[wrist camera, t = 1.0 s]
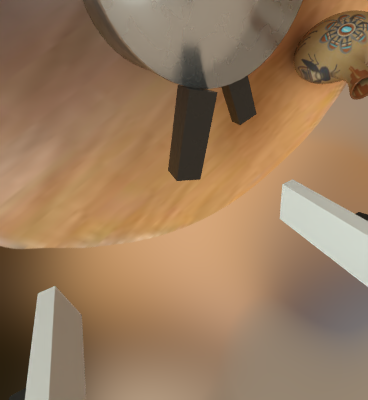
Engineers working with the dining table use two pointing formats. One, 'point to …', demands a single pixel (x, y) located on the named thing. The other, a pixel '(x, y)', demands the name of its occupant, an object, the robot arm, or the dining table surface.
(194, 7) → the cooker lid
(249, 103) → the pressure cooker
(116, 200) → the dining table surface
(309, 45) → the ceramic vessel
